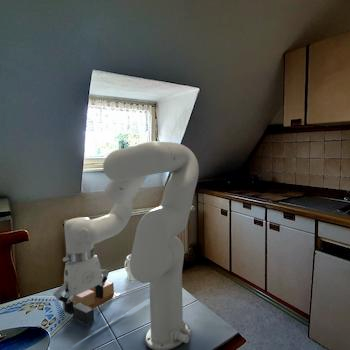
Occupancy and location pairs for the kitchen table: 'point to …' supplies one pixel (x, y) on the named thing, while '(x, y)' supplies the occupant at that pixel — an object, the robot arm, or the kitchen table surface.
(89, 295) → the cake slice
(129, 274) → the mug
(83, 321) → the dark block with blade
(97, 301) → the cake board
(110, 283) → the block
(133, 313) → the kitchen table surface
